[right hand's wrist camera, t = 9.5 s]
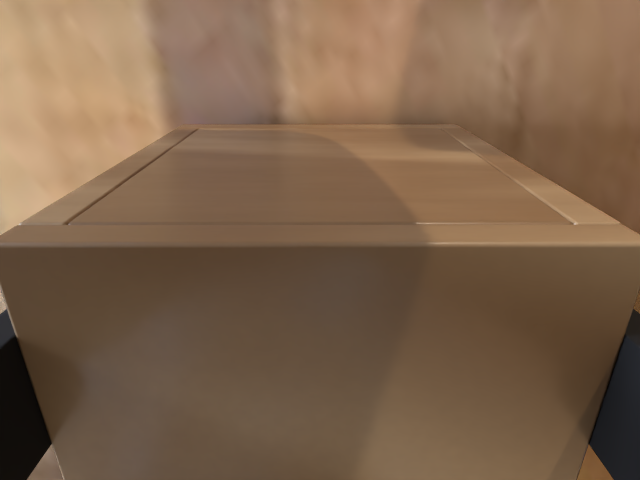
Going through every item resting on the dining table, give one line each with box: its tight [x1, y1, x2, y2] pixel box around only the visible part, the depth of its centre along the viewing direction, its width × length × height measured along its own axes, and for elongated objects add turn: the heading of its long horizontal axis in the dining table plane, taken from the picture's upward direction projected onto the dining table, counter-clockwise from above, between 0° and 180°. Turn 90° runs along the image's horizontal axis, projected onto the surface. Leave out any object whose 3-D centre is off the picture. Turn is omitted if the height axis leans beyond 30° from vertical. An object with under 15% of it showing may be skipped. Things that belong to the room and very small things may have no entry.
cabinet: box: [0, 124, 640, 480], centre depth 17 cm, size 20×11×12 cm, turn 0°
